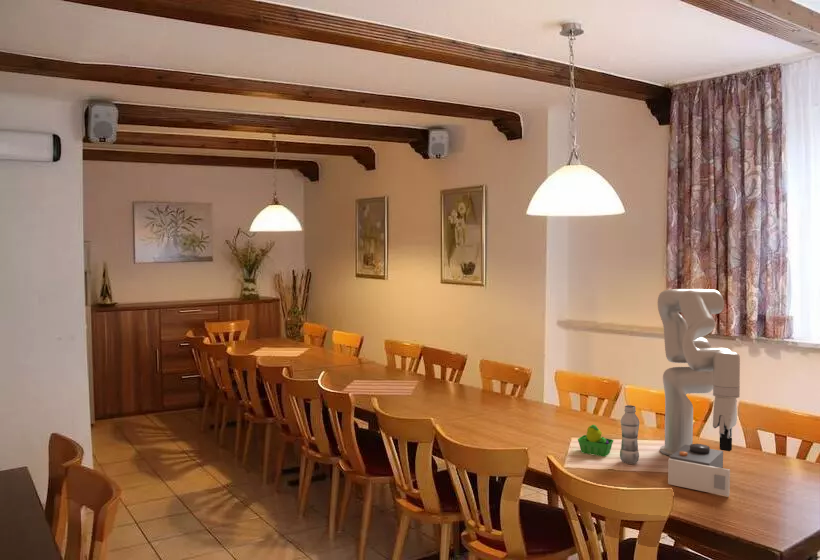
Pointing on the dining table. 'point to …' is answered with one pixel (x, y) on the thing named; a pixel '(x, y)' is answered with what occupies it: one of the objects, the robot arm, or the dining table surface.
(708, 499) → the dining table surface
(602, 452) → the fruit basket
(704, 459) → the grey block
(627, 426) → the plastic bottle
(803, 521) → the dining table surface
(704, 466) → the door
